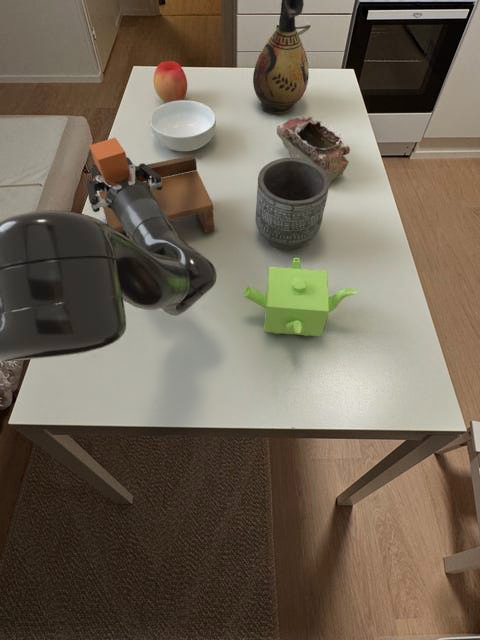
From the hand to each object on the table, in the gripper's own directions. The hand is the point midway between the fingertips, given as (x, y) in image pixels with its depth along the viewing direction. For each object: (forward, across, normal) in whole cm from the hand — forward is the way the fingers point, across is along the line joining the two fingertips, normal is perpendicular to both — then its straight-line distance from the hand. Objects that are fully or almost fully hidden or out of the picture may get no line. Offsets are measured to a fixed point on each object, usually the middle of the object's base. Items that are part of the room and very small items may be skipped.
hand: (109, 164), depth 80 cm
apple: (+44, -31, +17) cm, 57 cm away
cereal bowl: (+24, -26, +17) cm, 39 cm away
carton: (-3, 0, +7) cm, 7 cm away
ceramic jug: (+27, -58, +17) cm, 66 cm away
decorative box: (-1, -48, +17) cm, 51 cm away
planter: (-19, -30, +17) cm, 40 cm away
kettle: (-39, -19, +17) cm, 47 cm away
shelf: (-3, -7, +17) cm, 19 cm away
